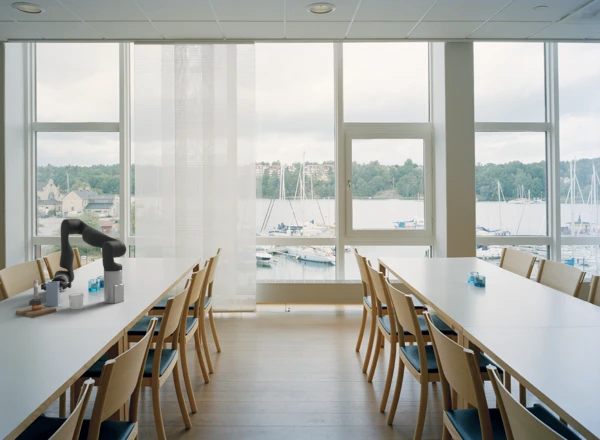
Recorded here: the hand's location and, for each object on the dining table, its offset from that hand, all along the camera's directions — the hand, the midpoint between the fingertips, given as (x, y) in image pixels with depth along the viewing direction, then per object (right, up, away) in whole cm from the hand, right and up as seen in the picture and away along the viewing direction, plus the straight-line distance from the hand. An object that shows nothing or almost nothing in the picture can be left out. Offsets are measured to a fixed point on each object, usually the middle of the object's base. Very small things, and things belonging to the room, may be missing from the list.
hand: (54, 288), depth 225 cm
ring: (+2, -5, -18) cm, 19 cm away
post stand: (+2, -9, -18) cm, 20 cm away
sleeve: (+1, -8, -3) cm, 9 cm away
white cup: (+16, -9, -8) cm, 20 cm away
